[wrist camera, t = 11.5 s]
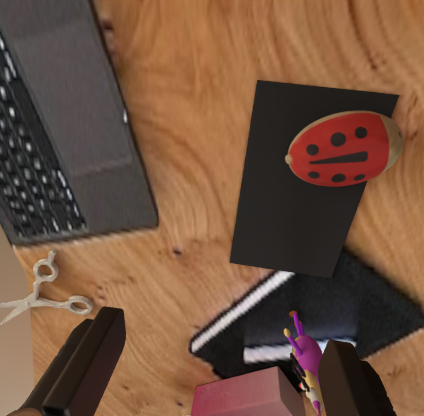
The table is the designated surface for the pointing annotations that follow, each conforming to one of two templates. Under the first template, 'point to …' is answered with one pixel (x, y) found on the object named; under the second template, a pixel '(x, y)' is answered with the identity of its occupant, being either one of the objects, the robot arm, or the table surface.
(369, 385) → the robot arm
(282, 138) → the desk pad
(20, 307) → the scissors
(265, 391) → the popsicle
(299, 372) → the wizard figurine
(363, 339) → the table surface
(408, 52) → the table surface
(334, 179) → the ladybug figurine
